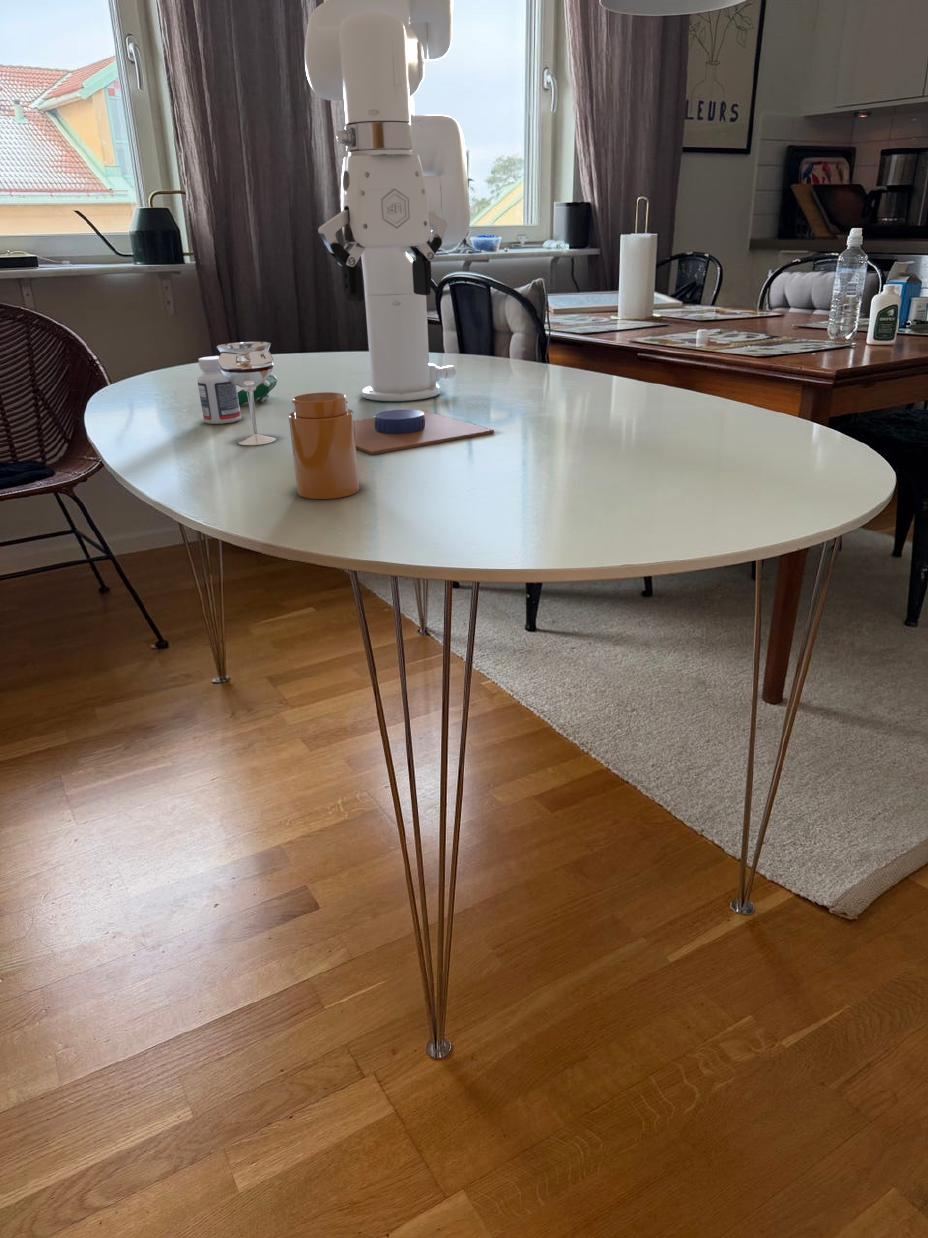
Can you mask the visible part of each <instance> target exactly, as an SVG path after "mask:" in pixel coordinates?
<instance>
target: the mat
mask: <svg viewBox="0 0 928 1238" xmlns="http://www.w3.org/2000/svg"><path fill="white" fill-rule="evenodd" d="M420 411H422V412H423V413H424V417H425V428H424V429H423V430H421V431H417V432H413V433H405V434H386V433H380V432H377V431H376V430H375V423H374V419H375V417H372V418H370V417H369V418H363V419H358V420H357V419H356V420H354V428H355V440H356V450H359V451H361V452H363V453H367V454H369V455H379V454H384V453H389V452H390V453H391V452H396V451H402V450H406V449H412V448H417V447H424V446H430V445H434V444H440V443H447V442H451V441H457V440H463V439H467V438H474V437H480V436H485V435H490V434H491V435H492V434H494V433H495V429H492V428H489V427H484V426H481V425H477V424H474V423H469V422H467V421H463V420H459V419H455V418H453V417H448V416H445V415H441V414H437V413H434V412H430V411H427V410H423V409H422V410H420Z"/></svg>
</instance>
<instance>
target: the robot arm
mask: <svg viewBox="0 0 928 1238" xmlns="http://www.w3.org/2000/svg"><path fill="white" fill-rule="evenodd" d="M453 19H454V0H325V1H324V2H322V3H321V4H319V5H318V6H317V7H315V8H314V10H313V11H312V12H311V14H310V16H309V18H308V22H307V28H306V33H305V40H304V41H305V42H304V68H305V75H306V77H307V81H308V83H309V86H310V88H311V90H312V91H313V93H314V94H315V95H316V96H317V97H319V98H321V99H323V100H325V101H343V103H344V116H345V117H344V118H345V125H344V129H343V130H338V131H337V133H336V140H337V143H338V144H339V145H344V146H345V147H346V151H347V155H346V156H344V157H343V162H342V170H341V171H342V172H341V184H340V185H341V187H340V212H338V213H337V214H336V215H335V216H333V217H332V218H330V219H328V221H326V222H325V223H323V224H321V225H320V226H319V227H318V230H317V231H318V234H319V236H320V238H321V240H322V242H323V244H324V246H325V247H326V250H327V252H328V254H329V255H331V256H332V257H333V258H334V260H336V261H337V264H338V265H339V266H341V270H342V282H343V292H344V294H345V295H346V299H347V301H350V302H355V303H361V302H363V301H364V303H365V304H364V305H365V314H366V315H365V317H366V329H367V330H366V331H367V344H368V357H369V369H370V384H371V385H368V386H365V387H364V388H362V398H364V399H367V400H371V401H379V402H407V401H408V402H409V401H418V400H419V401H420V400H424V399H430V398H433V397H436V396H438V395H440V393H441V386H440V385H439V384H437V382H439V381H440V380H441V379H445V380H446V379H451V378H452V379H453V378H455V377H456V375H457V374H456V373H457V371H456V368H455V365H444V366H442V367H440V366H437V365H436V364H434V363H430V353H429V352H430V351H429V350H430V349H429V330H428V309H427V296H430V295H431V293H432V290H431V289H432V288H431V287H432V284H433V283H432V282H433V281H432V280H433V279H432V261H434V260H435V257H436V253H437V252H438V251H439V249H440V248H441V246H452V245H456V244H460V243H461V242H463V241H464V240H465V239H466V237H467V235H468V233H469V230H470V226H471V225H470V224H471V203H470V193H469V177H468V165H467V151H466V145H465V138H464V133H463V130H462V128H461V125H460V124H459V122H458V121H457V120H456V119H455V118H453V117H451V116H450V115H443V114H415V101H414V97H413V95H415V93H417V92H418V90H419V88H420V86H421V83H423V81H424V78H425V74H426V73H425V71H426V62H429V61H430V62H432V61H439V60H441V59H443V58H444V57H446V56H447V55H448V54H449V51H450V49H451V45H452V40H453V30H454V23H453V22H454V20H453ZM339 230H342V236H343V241H344V243H345V245H344V246H343V245H342V244H340V243H339V241H338V238H337V236H336V234H337V232H338V231H339ZM407 249H409V251H410V252H411V253H412V255H413V256H414V257H415V259H413V258H412V257H411V256H410V255H409V254H408V252H407ZM360 258H361V266H362V267H361V266H358V261H359V260H360Z"/></svg>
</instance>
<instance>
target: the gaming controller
mask: <svg viewBox="0 0 928 1238" xmlns="http://www.w3.org/2000/svg"><path fill="white" fill-rule="evenodd" d="M277 383H278V378H277V377H276V375H275V374H273V372H272V373H271V374H270V375H269V377H268V378H267V379H266V381H264V382H263V383H261V384H260V385H258V386H256V390H255V391H253V395H254V402H261V403H264V402H265V400H268V398H269V397H270V396H271V394H270V392H271V391H272V390H273V389H274V388H275V387H276V386H277ZM237 394H238V400H239V407H241V406H244V405H247V404H248V405H249V401H248V396H247V391H244V390H243V389H241V390H239V391H237Z"/></svg>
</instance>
